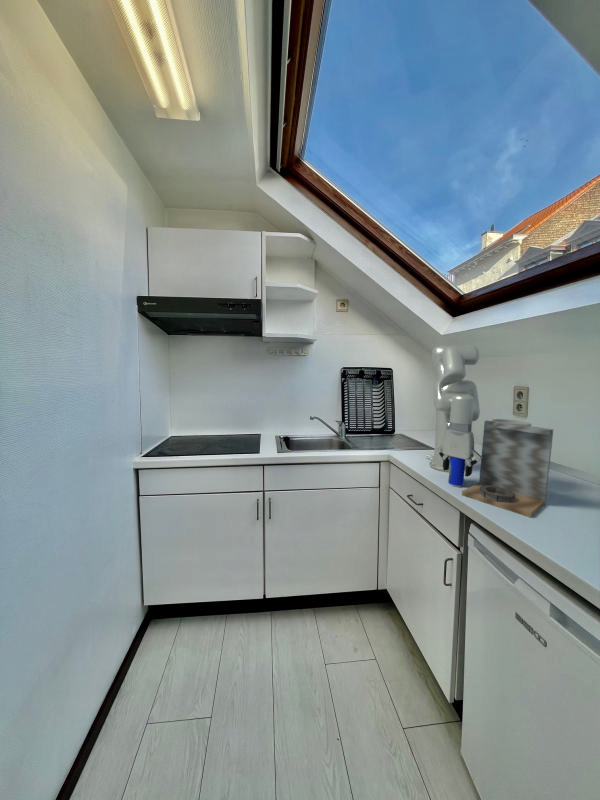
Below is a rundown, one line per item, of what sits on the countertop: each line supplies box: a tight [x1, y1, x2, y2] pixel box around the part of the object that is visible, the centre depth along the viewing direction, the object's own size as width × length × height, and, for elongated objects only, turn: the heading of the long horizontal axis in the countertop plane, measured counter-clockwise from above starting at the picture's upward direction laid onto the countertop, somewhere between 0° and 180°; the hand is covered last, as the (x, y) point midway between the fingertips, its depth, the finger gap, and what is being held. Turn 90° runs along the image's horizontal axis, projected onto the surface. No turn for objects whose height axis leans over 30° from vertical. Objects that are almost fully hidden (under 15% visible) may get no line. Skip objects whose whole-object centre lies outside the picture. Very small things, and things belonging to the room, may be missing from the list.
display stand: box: [461, 420, 554, 518], centre depth 103 cm, size 20×16×26 cm
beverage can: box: [447, 456, 466, 488], centre depth 116 cm, size 5×5×15 cm
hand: (456, 472), depth 116 cm, fingers open, 7 cm apart
